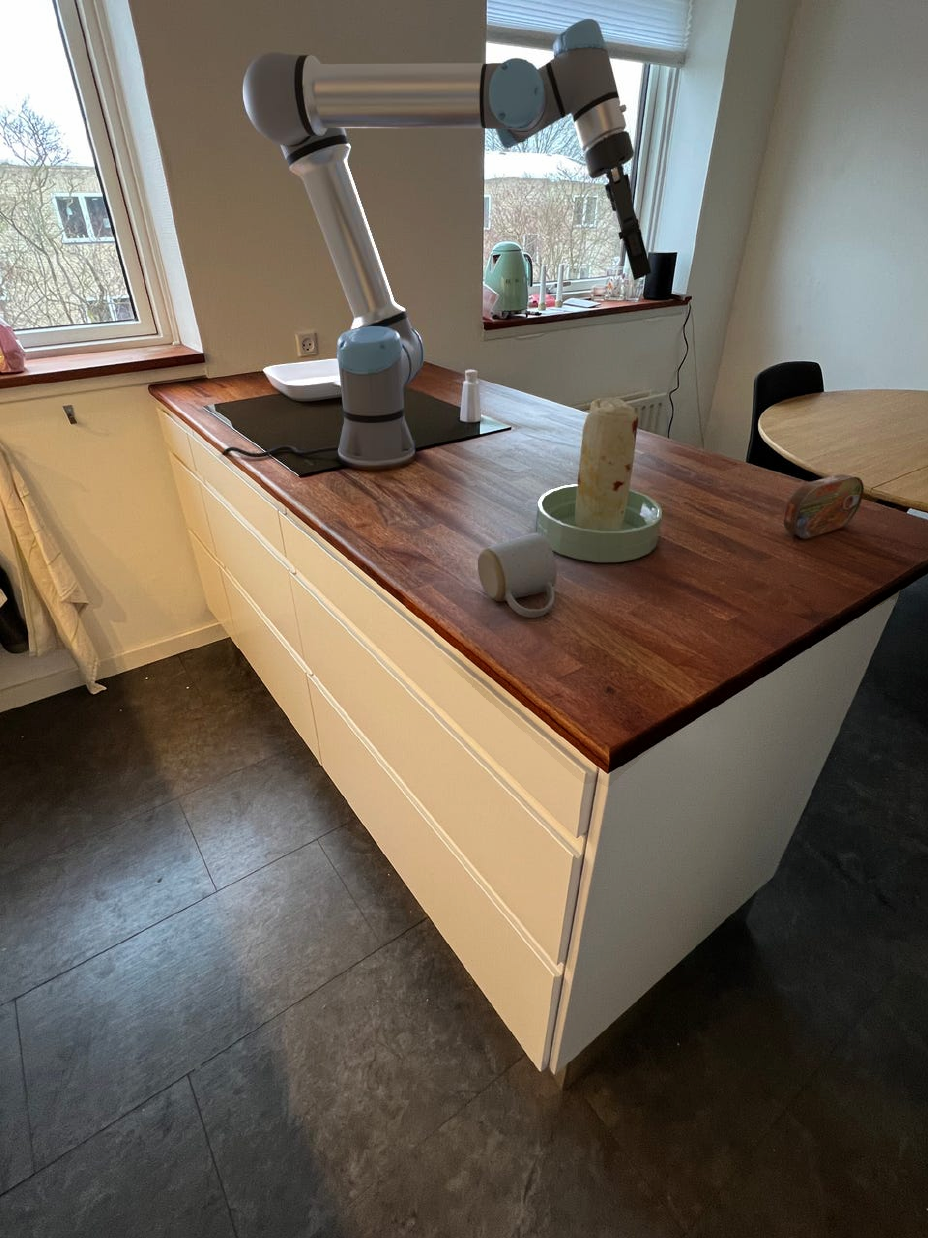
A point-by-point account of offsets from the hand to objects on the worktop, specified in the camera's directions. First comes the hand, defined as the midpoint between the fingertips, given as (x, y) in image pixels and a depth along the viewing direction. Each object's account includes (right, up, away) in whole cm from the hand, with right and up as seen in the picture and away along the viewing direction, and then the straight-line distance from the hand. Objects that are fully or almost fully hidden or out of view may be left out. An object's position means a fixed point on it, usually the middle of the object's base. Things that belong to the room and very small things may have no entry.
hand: (642, 276), depth 111 cm
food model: (-11, -47, -14) cm, 50 cm away
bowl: (-11, -47, -13) cm, 50 cm away
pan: (-66, 0, +59) cm, 89 cm away
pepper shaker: (-30, -13, +40) cm, 51 cm away
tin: (+24, -46, -11) cm, 53 cm away
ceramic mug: (-24, -57, -29) cm, 68 cm away
